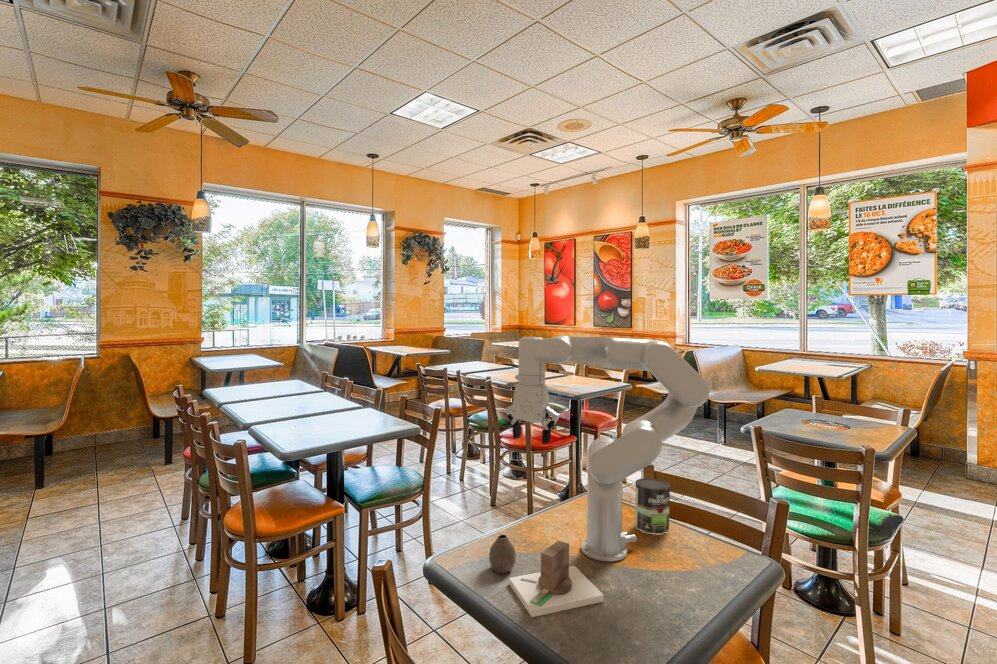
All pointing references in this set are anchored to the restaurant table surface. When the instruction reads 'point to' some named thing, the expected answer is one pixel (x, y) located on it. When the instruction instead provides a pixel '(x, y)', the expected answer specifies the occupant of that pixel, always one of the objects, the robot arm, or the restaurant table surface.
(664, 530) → the coffee can
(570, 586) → the dial knob
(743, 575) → the restaurant table surface
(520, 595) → the dial board
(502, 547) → the vase
